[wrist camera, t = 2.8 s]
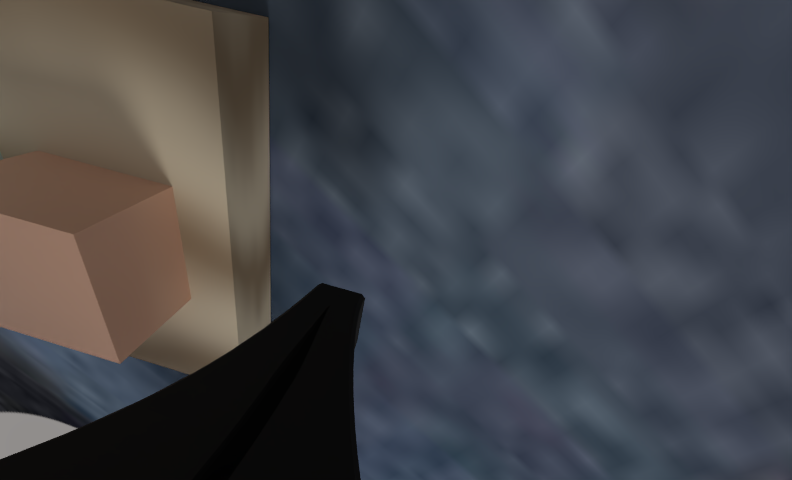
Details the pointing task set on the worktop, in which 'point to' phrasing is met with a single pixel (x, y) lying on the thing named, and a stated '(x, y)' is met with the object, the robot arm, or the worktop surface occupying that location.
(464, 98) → the worktop surface
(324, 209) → the worktop surface
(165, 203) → the salmon pink cube
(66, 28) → the beech board
